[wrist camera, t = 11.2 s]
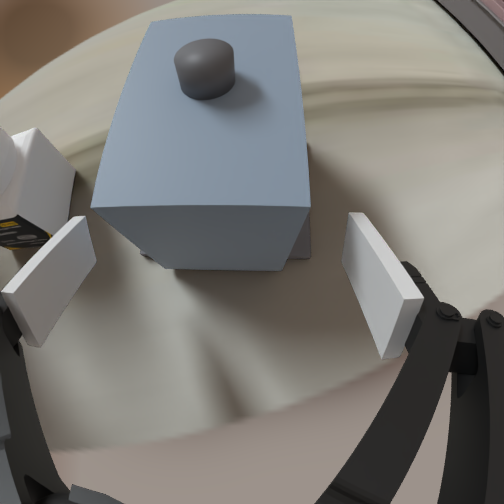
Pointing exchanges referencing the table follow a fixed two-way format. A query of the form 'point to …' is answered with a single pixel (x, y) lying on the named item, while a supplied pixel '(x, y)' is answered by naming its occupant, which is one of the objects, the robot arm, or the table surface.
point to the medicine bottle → (32, 189)
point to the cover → (209, 145)
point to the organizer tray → (482, 22)
